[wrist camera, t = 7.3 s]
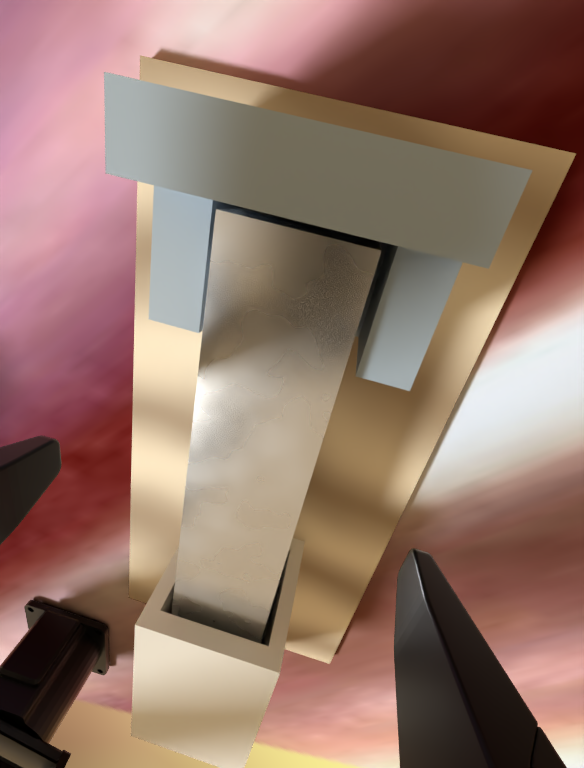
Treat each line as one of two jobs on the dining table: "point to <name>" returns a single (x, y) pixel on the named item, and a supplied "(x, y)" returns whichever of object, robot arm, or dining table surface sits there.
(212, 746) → the sleeve
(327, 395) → the extension bar
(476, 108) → the dining table surface
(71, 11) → the dining table surface
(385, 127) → the base board
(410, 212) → the socket
